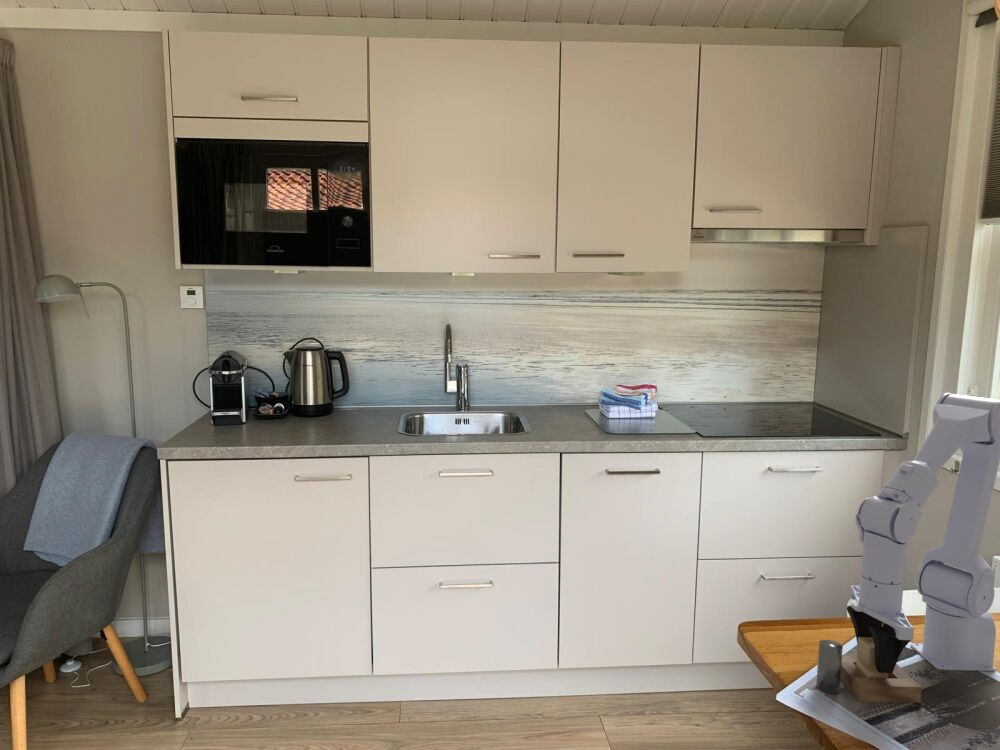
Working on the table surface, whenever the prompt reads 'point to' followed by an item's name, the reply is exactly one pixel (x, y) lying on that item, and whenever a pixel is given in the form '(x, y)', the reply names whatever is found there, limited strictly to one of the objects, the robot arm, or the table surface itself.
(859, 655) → the square bit
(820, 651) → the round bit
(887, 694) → the bore block
